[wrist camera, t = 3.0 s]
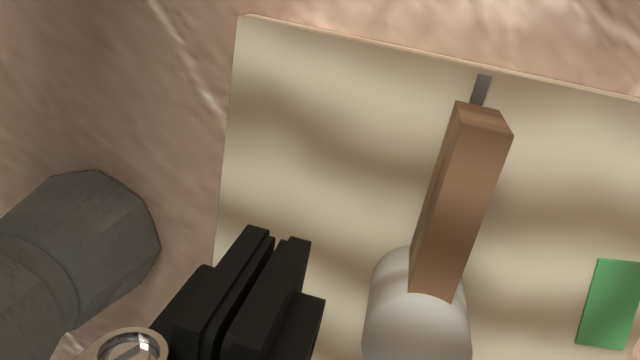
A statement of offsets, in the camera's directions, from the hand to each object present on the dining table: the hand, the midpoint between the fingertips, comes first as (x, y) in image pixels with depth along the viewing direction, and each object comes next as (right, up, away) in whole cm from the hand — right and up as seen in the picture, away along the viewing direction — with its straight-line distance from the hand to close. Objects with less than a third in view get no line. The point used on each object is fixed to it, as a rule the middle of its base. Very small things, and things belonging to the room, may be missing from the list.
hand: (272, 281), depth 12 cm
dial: (+7, 0, +13) cm, 15 cm away
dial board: (+7, -2, +16) cm, 18 cm away
